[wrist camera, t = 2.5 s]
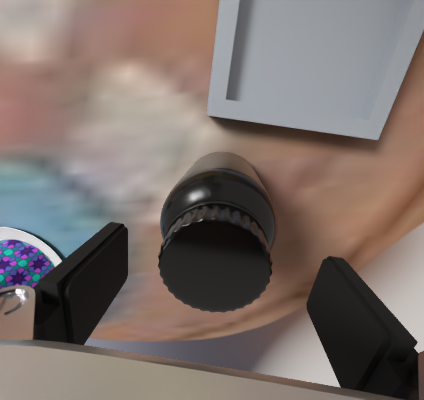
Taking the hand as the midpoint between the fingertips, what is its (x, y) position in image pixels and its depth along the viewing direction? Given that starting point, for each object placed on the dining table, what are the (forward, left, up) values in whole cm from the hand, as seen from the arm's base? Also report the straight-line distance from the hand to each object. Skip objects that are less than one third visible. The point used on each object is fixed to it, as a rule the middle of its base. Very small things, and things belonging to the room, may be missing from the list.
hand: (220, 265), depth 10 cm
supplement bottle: (-1, 0, -11) cm, 11 cm away
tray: (-13, +4, -11) cm, 17 cm away
